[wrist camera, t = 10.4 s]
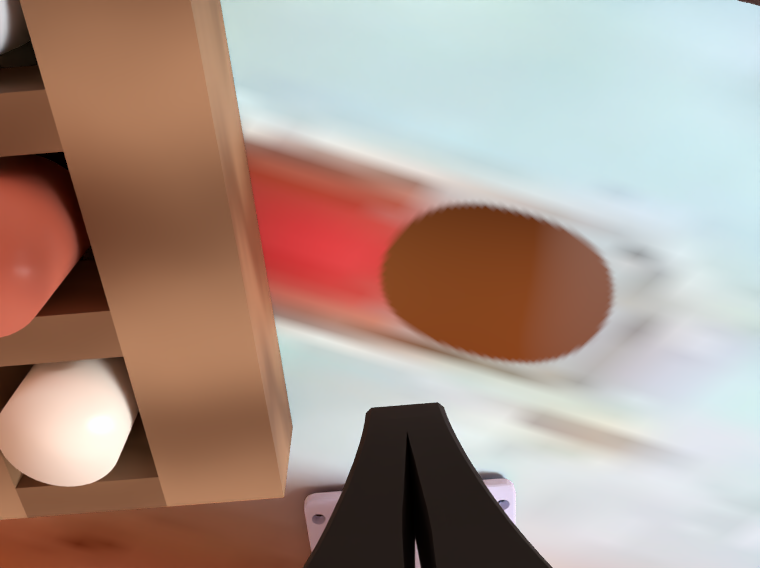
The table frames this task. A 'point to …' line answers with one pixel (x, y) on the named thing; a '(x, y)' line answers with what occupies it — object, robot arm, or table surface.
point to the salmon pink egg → (35, 236)
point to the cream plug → (69, 420)
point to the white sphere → (12, 26)
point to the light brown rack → (151, 254)
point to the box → (752, 1)
